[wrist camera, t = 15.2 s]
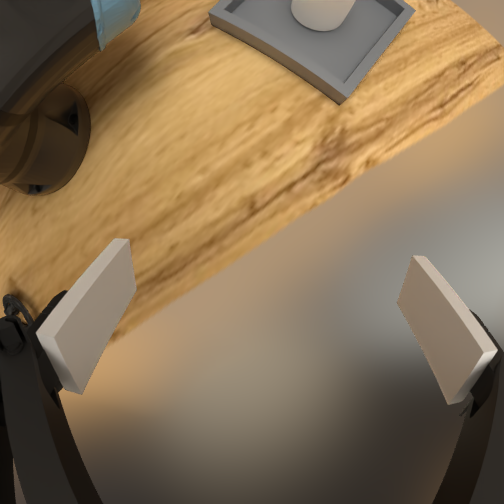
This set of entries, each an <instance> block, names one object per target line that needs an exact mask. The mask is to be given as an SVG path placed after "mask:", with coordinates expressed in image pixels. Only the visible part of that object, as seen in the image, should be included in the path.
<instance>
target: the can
mask: <svg viewBox="0 0 504 504" xmlns="http://www.w3.org/2000/svg"><path fill="white" fill-rule="evenodd" d="M355 1H356V0H292V4H291V11H292V14H293V16H294V17H295V18H296V20H297V21H298V22H299V23H301V24H302V25H304V26H305V27H308V28H310V29H313V30H317V31H330V30H333V29H336V28H337V27H339V26H340V25H341V24H342V22H343V21H344V19H345V18H346V16H347V14H348V13H349V11H350V9H351V8H352V6H353V4H354V3H355Z"/></svg>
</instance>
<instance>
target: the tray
mask: <svg viewBox="0 0 504 504" xmlns="http://www.w3.org/2000/svg"><path fill="white" fill-rule="evenodd" d="M291 4H292V0H220V1H219V2H218V3H217V4H216V5H215V6H214V7H213V8H212V9H211V10H210V11H209V12H208V14H209V17H210V21H211V24H212V25H213V26H215V27H217V28H219V29H221V30H222V31H224V32H226V33H228V34H230V35H232V36H234V37H236V38H238V39H239V40H241V41H243V42H245V43H247V44H248V45H250V46H252V47H254V48H255V49H257V50H259V51H260V52H262V53H264V54H265V55H267V56H269V57H270V58H272V59H273V60H275V61H277V62H278V63H280V64H281V65H283V66H285V67H286V68H288V69H289V70H291V71H292V72H294V73H295V74H297V75H298V76H300V77H301V78H303V79H304V80H305V81H307V82H308V83H310V84H311V85H313V86H314V87H315V88H317V89H318V90H320V91H321V92H322V93H324V94H325V95H326V96H328V97H329V98H330V99H332V100H333V101H334V102H336V103H337V104H338V105H340V104H341V103H343V102H344V101H345V100H346V99H347V98H348V97H349V96H350V94H351V93H352V92H353V91H354V89H355V88H356V87H357V85H358V84H359V83H360V81H361V80H362V79H363V78H364V76H365V75H366V74H367V72H368V71H369V70H370V68H371V67H372V66H373V65H374V63H375V62H376V61H377V59H378V58H379V57H380V56H381V54H382V53H383V52H384V50H385V49H386V48H387V47H388V45H389V44H390V43H391V41H392V40H393V39H394V38H395V36H396V35H397V34H398V33H399V31H400V30H401V29H402V28H403V26H404V25H405V24H406V22H407V21H408V20H409V19H410V17H411V16H412V15H413V14H414V12H415V11H416V10H415V9H413V8H412V7H411V6H410V5H408V4H407V3H406V2H404V1H403V0H356V1H355V3H354V4H353V6H352V8H351V9H350V11H349V13H348V14H347V16H346V18H345V19H344V21H343V22H342V24H341V25H340V26H339V27H337V28H336V29H333V30H330V31H317V30H313V29H310V28H308V27H305V26H304V25H302V24H301V23H299V22H298V21H297V20H296V18H295V17H294V16H293V14H292V11H291Z"/></svg>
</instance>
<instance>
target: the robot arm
mask: <svg viewBox="0 0 504 504" xmlns="http://www.w3.org/2000/svg"><path fill="white" fill-rule="evenodd" d="M140 8H141V4H140V0H0V184H2V185H4V186H6V187H9V188H11V189H13V190H16V191H18V192H20V193H23V194H26V195H43V194H49V193H52V192H54V191H56V190H58V189H60V188H61V187H63V186H64V185H65V184H66V183H67V182H68V181H69V180H70V179H71V178H72V177H73V175H74V174H75V173H76V171H77V169H78V168H79V166H80V164H81V162H82V160H83V158H84V155H85V152H86V149H87V146H88V141H89V135H90V116H89V111H88V107H87V104H86V102H85V100H84V98H83V97H82V95H81V94H80V93H79V92H78V91H77V90H76V89H74V88H72V87H71V86H68V85H66V84H64V83H62V82H63V81H64V80H65V79H66V78H67V77H68V76H69V75H71V74H72V73H73V72H74V71H75V70H76V69H77V68H79V67H80V66H81V65H82V64H83V63H85V62H86V61H87V60H88V59H89V58H91V57H92V56H93V55H94V54H96V53H97V52H98V51H100V52H101V51H102V50H104V48H105V47H106V44H108V43H109V42H110V41H111V40H112V39H114V38H115V37H116V36H118V35H119V34H120V33H121V32H123V31H124V30H125V29H127V28H128V27H129V26H131V25H132V24H133V23H134V22H135V21H136V19H137V18H138V16H139V13H140ZM136 290H137V288H136V282H135V276H134V270H133V263H132V256H131V249H130V242H129V239H119V238H114V239H113V240H112V241H111V243H110V244H109V245H108V246H107V247H106V248H105V249H104V250H103V251H102V252H101V254H100V255H99V256H98V257H97V258H96V259H95V260H94V261H93V263H92V264H91V265H90V266H89V267H88V268H87V269H86V271H85V272H84V273H83V274H82V275H81V276H80V278H79V279H78V280H77V281H76V282H75V284H74V285H73V286H72V287H71V288H70V290H69V291H66V290H64V291H62V292H61V293H59V294H58V295H56V296H55V297H54V298H53V299H52V300H51V301H50V302H49V304H48V305H47V307H45V309H44V310H43V311H42V313H41V314H40V315H39V316H38V317H37V319H36V320H35V321H34V322H33V324H32V325H31V326H30V328H29V329H28V330H27V332H26V331H25V328H24V326H23V324H22V322H21V319H20V318H19V317H17V316H13V315H9V316H5V317H2V318H0V504H16V500H15V489H14V474H13V458H14V463H15V467H16V470H17V474H18V478H19V481H20V484H21V488H22V491H23V494H24V497H25V500H26V503H27V504H103V502H102V500H101V498H100V496H99V495H98V493H97V491H96V489H95V487H94V485H93V483H92V480H91V478H90V476H89V474H88V472H87V470H86V467H85V466H84V463H83V461H82V458H81V456H80V453H79V451H78V449H77V446H76V444H75V441H74V439H73V436H72V433H71V430H70V428H69V425H68V422H67V419H66V416H65V413H64V410H63V407H62V404H61V400H60V398H59V394H58V391H57V390H56V388H55V386H56V384H57V382H58V380H60V382H61V384H62V386H63V387H64V389H65V390H67V391H71V392H75V393H78V394H83V392H84V389H85V387H86V385H87V383H88V381H89V379H90V377H91V375H92V373H93V371H94V369H95V367H96V365H97V363H98V361H99V359H100V357H101V355H102V353H103V351H104V349H105V347H106V345H107V343H108V341H109V339H110V338H111V336H112V334H113V332H114V330H115V328H116V326H117V324H118V323H119V321H120V319H121V317H122V315H123V313H124V312H125V310H126V308H127V306H128V304H129V303H130V301H131V299H132V297H133V296H134V294H135V292H136ZM397 304H398V306H399V308H400V309H401V311H402V313H403V315H404V317H405V318H406V320H407V322H408V324H409V326H410V328H411V329H412V331H413V333H414V335H415V337H416V339H417V341H418V343H419V345H420V347H421V348H422V351H423V353H424V355H425V356H426V359H427V361H428V363H429V365H430V367H431V369H432V371H433V373H434V375H435V377H436V379H437V381H438V384H439V386H440V388H441V390H442V392H443V394H444V396H445V399H446V401H447V403H448V405H449V404H453V403H458V402H462V401H463V400H464V398H465V397H466V396H467V395H468V393H469V392H471V393H472V395H473V398H472V399H471V400H470V402H469V403H468V404H467V405H466V407H465V408H464V409H463V410H462V412H461V413H460V415H459V416H462V415H463V414H464V413H465V412H466V411H467V412H466V416H465V419H464V423H463V426H462V429H461V432H460V436H459V439H458V441H457V444H456V448H455V450H454V453H453V456H452V459H451V461H450V464H449V466H448V469H447V471H446V474H445V476H444V478H443V481H442V483H441V485H440V488H439V490H438V492H437V494H436V497H435V499H434V501H433V503H432V504H504V352H503V350H502V349H501V348H500V346H499V345H498V343H497V342H496V340H495V339H494V337H493V336H492V335H491V333H490V332H488V329H487V328H486V326H484V324H483V322H482V321H481V319H480V318H479V317H478V316H477V315H476V314H475V313H474V312H472V311H471V310H470V309H468V308H467V306H466V305H465V304H464V303H463V301H462V300H461V299H460V298H459V296H458V295H457V294H456V292H455V291H454V290H453V289H452V288H451V286H450V285H449V284H448V283H447V281H446V280H445V279H444V278H443V277H442V276H441V274H440V273H439V272H438V271H437V270H436V268H435V267H434V266H433V265H432V264H431V263H430V262H429V260H428V259H427V258H426V257H425V256H412V258H411V261H410V265H409V268H408V271H407V274H406V278H405V280H404V283H403V287H402V289H401V292H400V295H399V298H398V301H397Z"/></svg>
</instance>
